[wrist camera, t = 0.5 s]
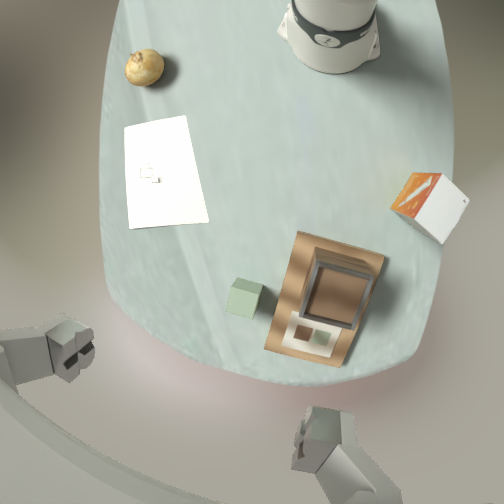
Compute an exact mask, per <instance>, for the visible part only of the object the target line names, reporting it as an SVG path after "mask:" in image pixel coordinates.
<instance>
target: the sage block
mask: <svg viewBox="0 0 504 504" xmlns="http://www.w3.org/2000/svg"><path fill="white" fill-rule="evenodd" d="M262 288H263V284H259V283H255V282H252V281H248V280H245V279H241V278H237V279H236V280H235V282H234V283H233V285H232V286H231V289H230V294H229V298H228V303H227V308H226V312H229V313H232V314H236V315H239V316H242V317H246V318H249V319H253V317H254V314H255V312H256V310H257V307H258V303H259V299H260V295H261V291H262Z"/></svg>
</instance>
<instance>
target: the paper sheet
mask: <svg viewBox="0 0 504 504" xmlns="http://www.w3.org/2000/svg"><path fill="white" fill-rule="evenodd" d="M125 172H126V191H127V205H128V217H129V227H130V229H133V228H144V227H156V226H167V225H180V224H193V223H206V222H209V219H208V215H207V210H206V206H205V202H204V198H203V193H202V189H201V185H200V180H199V176H198V171H197V167H196V162H195V158H194V153H193V149H192V144H191V139H190V134H189V130H188V125H187V120H186V115H184V116H178V117H173V118H167V119H162V120H157V121H152V122H147V123H142V124H138V125H133V126H129V127H125Z"/></svg>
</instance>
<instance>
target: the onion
mask: <svg viewBox="0 0 504 504" xmlns="http://www.w3.org/2000/svg"><path fill="white" fill-rule="evenodd" d="M130 55H131V56H132V57H131V58H130V59H129V60H128V62H127V64H126V67H125V75H126V78H127V79H128V81H129V82H130V83H131V84H133V85H136V86H147V85H150V84H152V83H154V82H155V81H156V80H157V79H158V78H160V76H161V74H162V73H163V69H164V61H163V58H162V56H161V55H160V54H159V53H158V52H157V51H155V50H153V49H144V50H141V51H137V52H136V53H134V54H133V55H132V54H131V53H130Z"/></svg>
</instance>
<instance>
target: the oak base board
mask: <svg viewBox="0 0 504 504" xmlns="http://www.w3.org/2000/svg"><path fill="white" fill-rule="evenodd" d="M384 258H385V257H384V256H383V255H382V254H379V253H376V252H372V251H369V250H365V249H362V248H359V247H355V246H352V245H348V244H345V243H341V242H337V241H334V240H330V239H327V238H323V237H320V236H316V235H312V234H309V233H305V232H301V231H297V235H296V239H295V242H294V246H293V250H292V253H291V257H290V261H289V264H288V268H287V272H286V275H285V279H284V282H283V286H282V289H281V293H280V296H279V300H278V303H277V307H276V310H275V314H274V317H273V320H272V324H271V327H270V330H269V334H268V337H267V340H266V344H265V347H264V349H265V350H269V351H272V352H276V353H280V354H284V355H288V356H292V357H295V358H299V359H304V360H308V361H312V362H316V363H320V364H325V365H329V366H334V367H339V368H340V366H341V364H342V362H343V360H344V358H345V356H346V354H347V352H348V349H349V347H350V345H351V343H352V340H353V338H354V336H355V334H356V331H357V329H358V327H359V324H360V322H361V319H362V317H363V315H364V312H365V310H366V307H367V305H368V302H369V299H370V297H371V294H372V292H373V289H374V286H375V283H376V281H377V278H378V275H379V272H380V270H381V267H382V264H383V261H384Z"/></svg>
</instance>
